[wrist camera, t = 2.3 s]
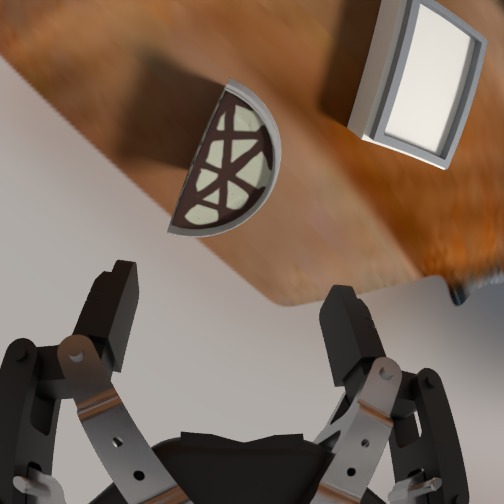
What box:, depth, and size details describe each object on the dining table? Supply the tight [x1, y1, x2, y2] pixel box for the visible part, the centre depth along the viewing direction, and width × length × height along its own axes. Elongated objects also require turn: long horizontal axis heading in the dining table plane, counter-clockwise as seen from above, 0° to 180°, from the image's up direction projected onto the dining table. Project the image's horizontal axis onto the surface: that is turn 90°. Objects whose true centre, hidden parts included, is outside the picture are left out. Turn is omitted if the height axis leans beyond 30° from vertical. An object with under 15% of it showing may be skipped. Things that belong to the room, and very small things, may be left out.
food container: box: [167, 78, 281, 237], centre depth 23 cm, size 12×6×10 cm, turn 155°
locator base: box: [347, 0, 488, 170], centre depth 20 cm, size 16×11×5 cm, turn 169°
